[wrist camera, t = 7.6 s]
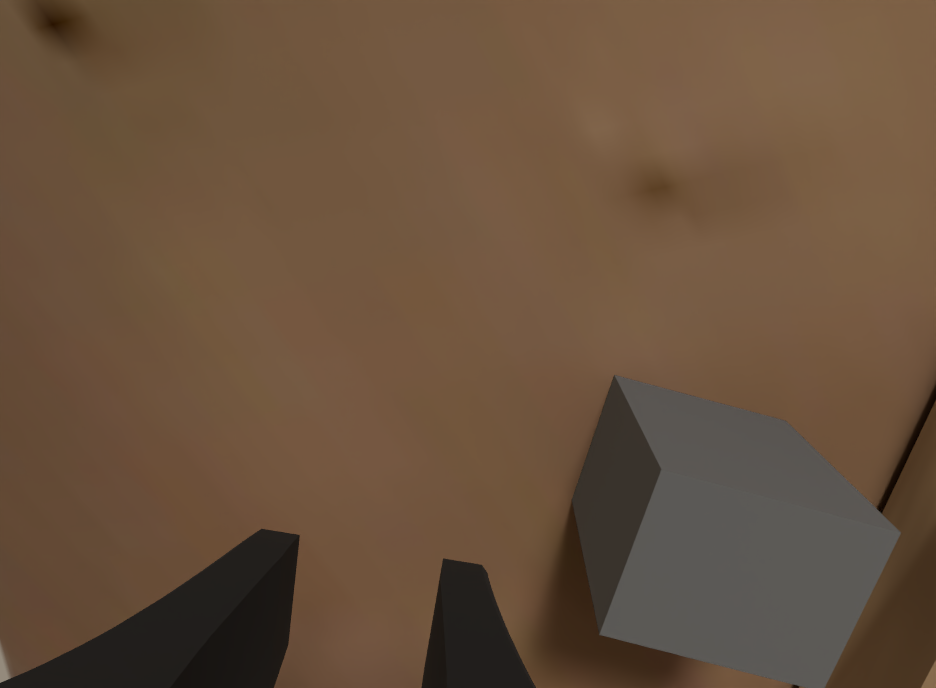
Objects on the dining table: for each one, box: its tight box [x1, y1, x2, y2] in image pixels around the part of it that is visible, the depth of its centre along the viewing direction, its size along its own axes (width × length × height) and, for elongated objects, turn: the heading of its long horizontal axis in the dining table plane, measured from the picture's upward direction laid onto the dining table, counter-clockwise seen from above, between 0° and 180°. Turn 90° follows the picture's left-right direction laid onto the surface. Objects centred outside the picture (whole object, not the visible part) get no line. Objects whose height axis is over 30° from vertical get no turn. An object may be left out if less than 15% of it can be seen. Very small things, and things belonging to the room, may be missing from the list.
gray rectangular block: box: [572, 375, 901, 688], centre depth 18 cm, size 5×4×6 cm
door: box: [799, 401, 936, 688], centre depth 19 cm, size 2×14×4 cm, turn 165°
